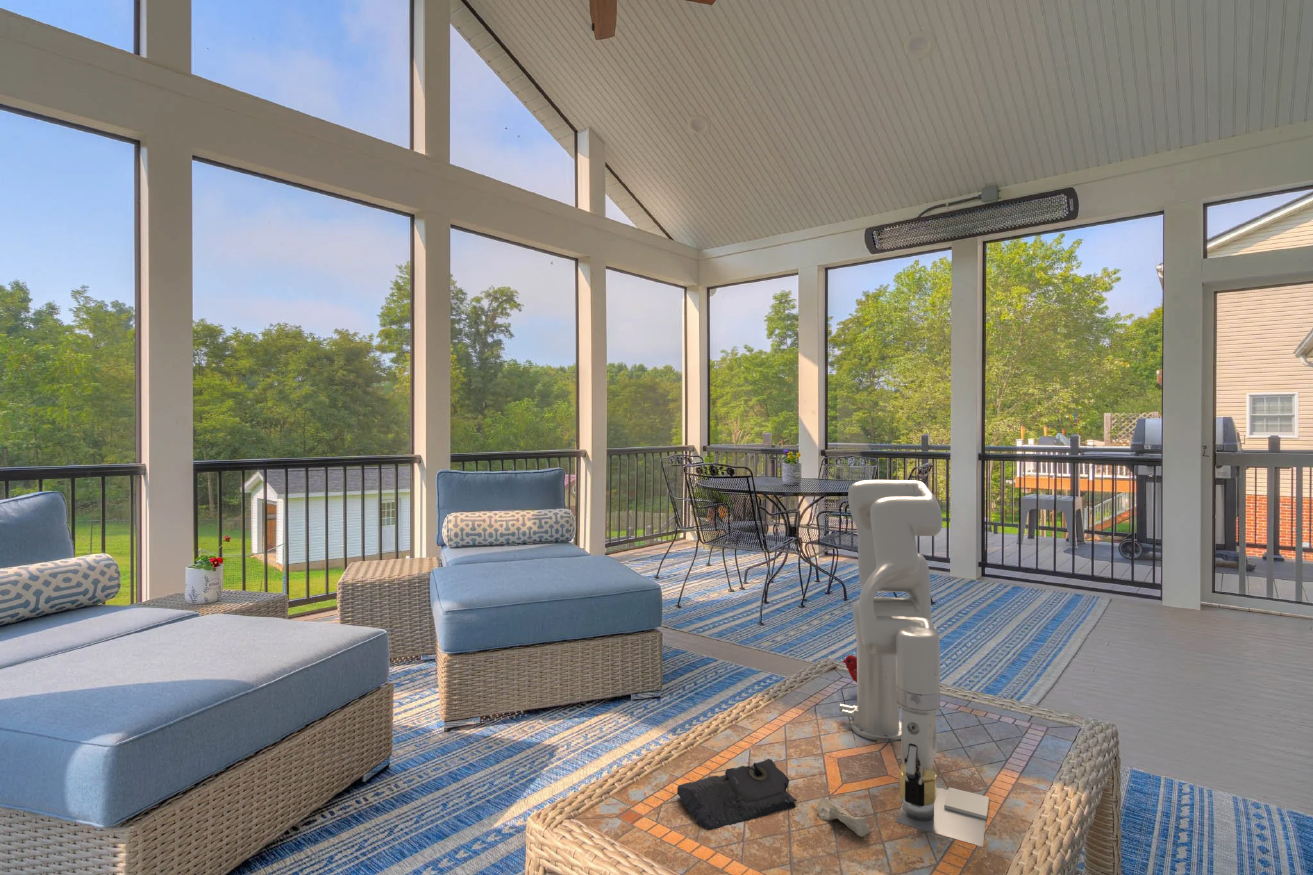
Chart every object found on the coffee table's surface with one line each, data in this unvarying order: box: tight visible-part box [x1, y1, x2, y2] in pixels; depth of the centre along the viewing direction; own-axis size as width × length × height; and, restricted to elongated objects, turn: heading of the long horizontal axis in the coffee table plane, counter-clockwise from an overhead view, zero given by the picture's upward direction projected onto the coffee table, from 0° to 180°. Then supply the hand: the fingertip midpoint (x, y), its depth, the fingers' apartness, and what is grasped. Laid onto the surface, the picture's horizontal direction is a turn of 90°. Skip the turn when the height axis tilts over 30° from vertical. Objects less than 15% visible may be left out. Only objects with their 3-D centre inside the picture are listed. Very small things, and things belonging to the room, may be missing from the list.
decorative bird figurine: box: [841, 654, 857, 684], centre depth 176 cm, size 3×18×10 cm, turn 67°
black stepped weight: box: [676, 758, 798, 831], centre depth 127 cm, size 15×22×5 cm
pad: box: [944, 786, 990, 820], centre depth 122 cm, size 7×7×1 cm
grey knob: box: [901, 796, 934, 821], centre depth 120 cm, size 5×5×7 cm
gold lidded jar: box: [899, 761, 937, 805], centre depth 120 cm, size 6×6×6 cm
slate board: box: [895, 786, 987, 848], centre depth 120 cm, size 14×16×1 cm
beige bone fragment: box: [816, 797, 872, 838], centre depth 117 cm, size 6×10×4 cm, turn 42°
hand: (917, 793), depth 120 cm, fingers closed on gold lidded jar, 6 cm apart
